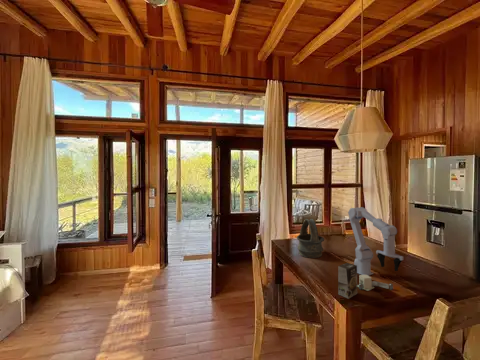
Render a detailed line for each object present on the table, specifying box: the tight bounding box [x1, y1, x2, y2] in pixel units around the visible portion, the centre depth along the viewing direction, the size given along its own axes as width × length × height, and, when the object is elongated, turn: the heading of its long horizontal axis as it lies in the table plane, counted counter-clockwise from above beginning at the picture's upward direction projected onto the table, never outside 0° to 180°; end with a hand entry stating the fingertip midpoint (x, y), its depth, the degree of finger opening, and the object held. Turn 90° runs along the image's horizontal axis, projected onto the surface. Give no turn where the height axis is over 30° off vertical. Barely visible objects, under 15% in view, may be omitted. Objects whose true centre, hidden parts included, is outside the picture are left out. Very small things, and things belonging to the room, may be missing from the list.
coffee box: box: [337, 262, 358, 300], centre depth 134 cm, size 9×6×16 cm
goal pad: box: [357, 284, 376, 292], centre depth 142 cm, size 7×7×1 cm
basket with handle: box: [296, 218, 325, 259], centre depth 201 cm, size 22×23×30 cm
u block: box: [358, 274, 373, 290], centre depth 142 cm, size 4×5×6 cm
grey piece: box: [358, 280, 394, 291], centre depth 141 cm, size 6×19×3 cm, turn 87°
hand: (389, 268), depth 144 cm, fingers open, 7 cm apart
